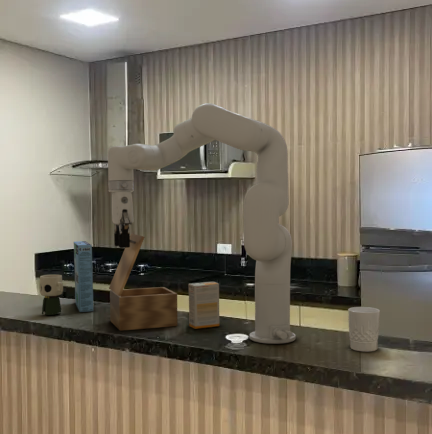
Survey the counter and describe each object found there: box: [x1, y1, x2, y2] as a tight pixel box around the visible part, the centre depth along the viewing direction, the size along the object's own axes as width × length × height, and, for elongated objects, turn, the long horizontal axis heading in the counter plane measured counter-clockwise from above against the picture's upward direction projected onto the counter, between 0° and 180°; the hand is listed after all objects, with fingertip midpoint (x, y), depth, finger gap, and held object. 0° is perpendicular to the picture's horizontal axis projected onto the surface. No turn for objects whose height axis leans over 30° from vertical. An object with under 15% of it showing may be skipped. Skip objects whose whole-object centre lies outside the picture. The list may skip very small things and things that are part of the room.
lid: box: [108, 232, 145, 296], centre depth 181 cm, size 19×15×5 cm
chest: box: [109, 286, 178, 332], centre depth 184 cm, size 18×15×10 cm
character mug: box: [39, 274, 64, 316], centre depth 199 cm, size 11×7×13 cm, turn 56°
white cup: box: [347, 306, 381, 353], centre depth 153 cm, size 8×8×10 cm
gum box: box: [73, 240, 94, 313], centre depth 212 cm, size 19×5×23 cm, turn 17°
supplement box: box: [188, 281, 221, 330], centre depth 180 cm, size 8×5×13 cm, turn 115°
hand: (122, 246), depth 181 cm, fingers closed on lid, 6 cm apart
